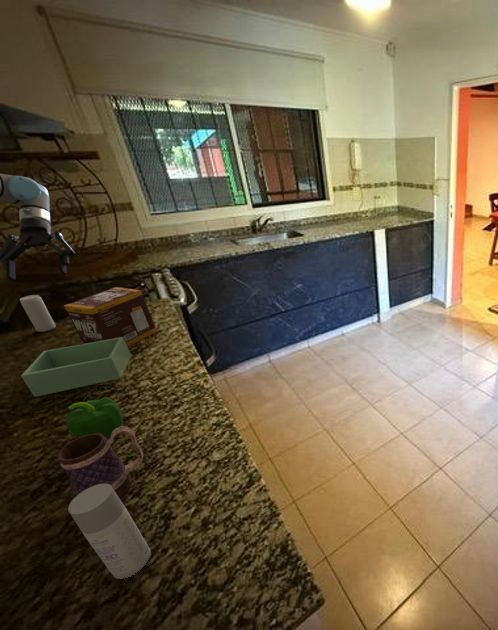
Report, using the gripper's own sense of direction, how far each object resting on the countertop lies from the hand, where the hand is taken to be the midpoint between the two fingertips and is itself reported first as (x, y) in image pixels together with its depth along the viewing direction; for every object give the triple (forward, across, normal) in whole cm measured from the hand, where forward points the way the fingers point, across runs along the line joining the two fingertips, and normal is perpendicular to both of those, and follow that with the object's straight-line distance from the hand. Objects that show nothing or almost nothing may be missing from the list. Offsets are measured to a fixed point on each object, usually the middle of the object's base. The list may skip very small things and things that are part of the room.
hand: (37, 275), depth 119 cm
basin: (+46, +22, -25) cm, 56 cm away
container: (+90, +44, -71) cm, 123 cm away
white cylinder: (+19, 0, +4) cm, 19 cm away
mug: (+79, +39, -59) cm, 106 cm away
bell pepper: (+67, +33, -46) cm, 88 cm away
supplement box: (+34, +26, -11) cm, 44 cm away
